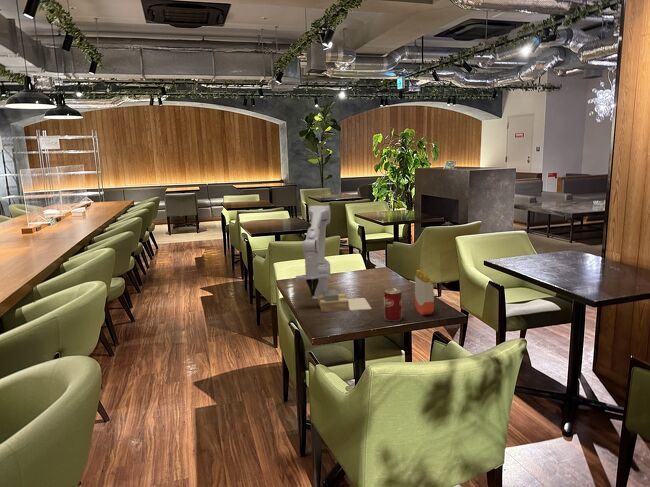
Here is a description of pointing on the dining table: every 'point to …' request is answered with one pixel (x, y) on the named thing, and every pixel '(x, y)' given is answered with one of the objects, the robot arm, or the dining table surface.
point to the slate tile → (330, 295)
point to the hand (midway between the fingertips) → (312, 295)
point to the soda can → (392, 305)
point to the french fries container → (424, 293)
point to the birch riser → (333, 303)
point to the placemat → (358, 304)
